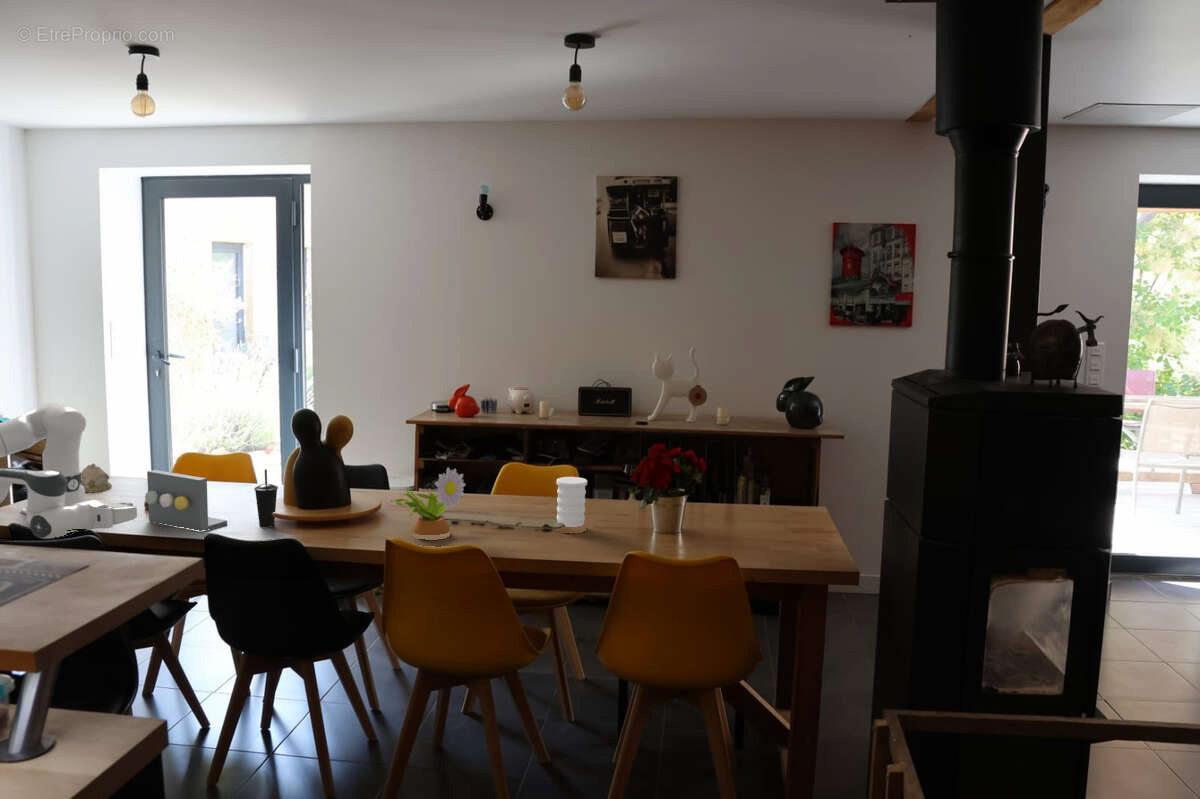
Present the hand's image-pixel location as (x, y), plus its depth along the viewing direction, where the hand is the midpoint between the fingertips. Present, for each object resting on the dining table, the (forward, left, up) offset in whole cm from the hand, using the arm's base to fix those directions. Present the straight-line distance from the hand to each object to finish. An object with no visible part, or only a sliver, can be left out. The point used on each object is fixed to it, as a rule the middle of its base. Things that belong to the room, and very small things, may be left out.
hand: (130, 504), depth 283 cm
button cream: (0, +14, -4) cm, 14 cm away
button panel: (0, +22, -11) cm, 25 cm away
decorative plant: (+79, +54, -12) cm, 96 cm away
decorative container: (+118, +83, -12) cm, 145 cm away
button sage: (-7, +14, -4) cm, 16 cm away
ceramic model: (-72, +38, -12) cm, 82 cm away
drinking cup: (+25, +33, -12) cm, 43 cm away
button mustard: (+7, +14, -4) cm, 16 cm away
